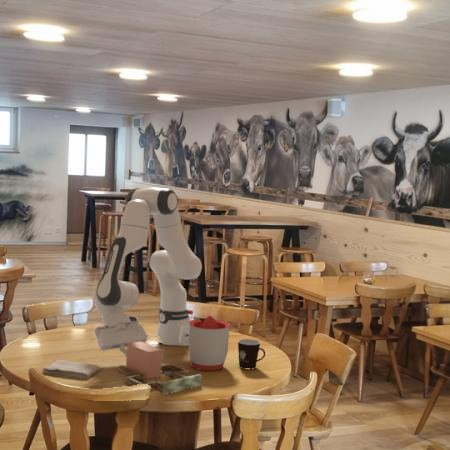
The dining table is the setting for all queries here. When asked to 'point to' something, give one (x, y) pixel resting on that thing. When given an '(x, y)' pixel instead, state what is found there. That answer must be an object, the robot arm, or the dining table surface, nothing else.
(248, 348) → the coffee mug
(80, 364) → the washcloth
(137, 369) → the terracotta block
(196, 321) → the citrus juicer
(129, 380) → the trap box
